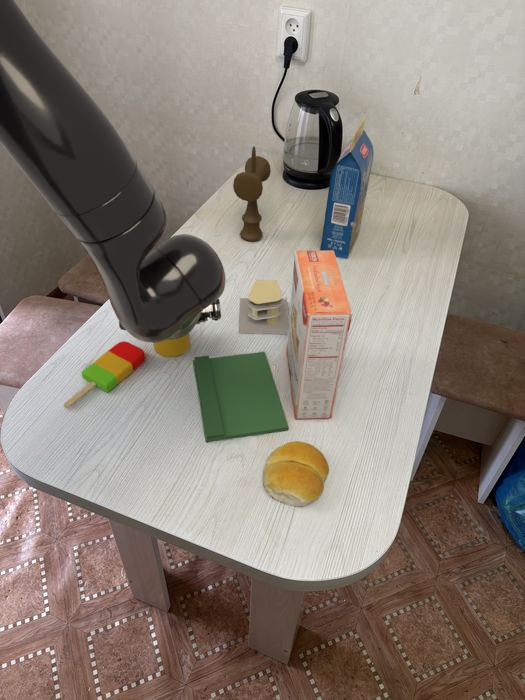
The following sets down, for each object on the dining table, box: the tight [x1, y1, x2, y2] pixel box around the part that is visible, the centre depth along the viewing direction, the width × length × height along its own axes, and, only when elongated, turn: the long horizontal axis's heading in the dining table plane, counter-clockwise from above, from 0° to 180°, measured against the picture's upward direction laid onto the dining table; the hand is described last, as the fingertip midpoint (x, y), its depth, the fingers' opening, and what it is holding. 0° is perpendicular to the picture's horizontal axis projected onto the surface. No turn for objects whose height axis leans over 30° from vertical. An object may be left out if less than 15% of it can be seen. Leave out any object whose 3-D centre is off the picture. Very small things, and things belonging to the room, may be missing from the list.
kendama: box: [232, 146, 272, 242], centre depth 105 cm, size 6×10×20 cm, turn 167°
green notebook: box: [192, 351, 289, 443], centre depth 78 cm, size 12×16×1 cm
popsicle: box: [63, 340, 146, 409], centre depth 78 cm, size 6×15×2 cm, turn 148°
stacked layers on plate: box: [238, 279, 289, 335], centre depth 90 cm, size 10×9×6 cm
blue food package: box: [319, 115, 375, 259], centre depth 103 cm, size 6×12×25 cm, turn 160°
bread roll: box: [262, 440, 330, 508], centre depth 67 cm, size 8×9×4 cm
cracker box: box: [285, 250, 353, 420], centre depth 73 cm, size 14×6×21 cm, turn 3°
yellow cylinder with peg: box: [153, 332, 191, 358], centre depth 82 cm, size 6×6×10 cm
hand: (170, 319), depth 78 cm, fingers open, 8 cm apart
